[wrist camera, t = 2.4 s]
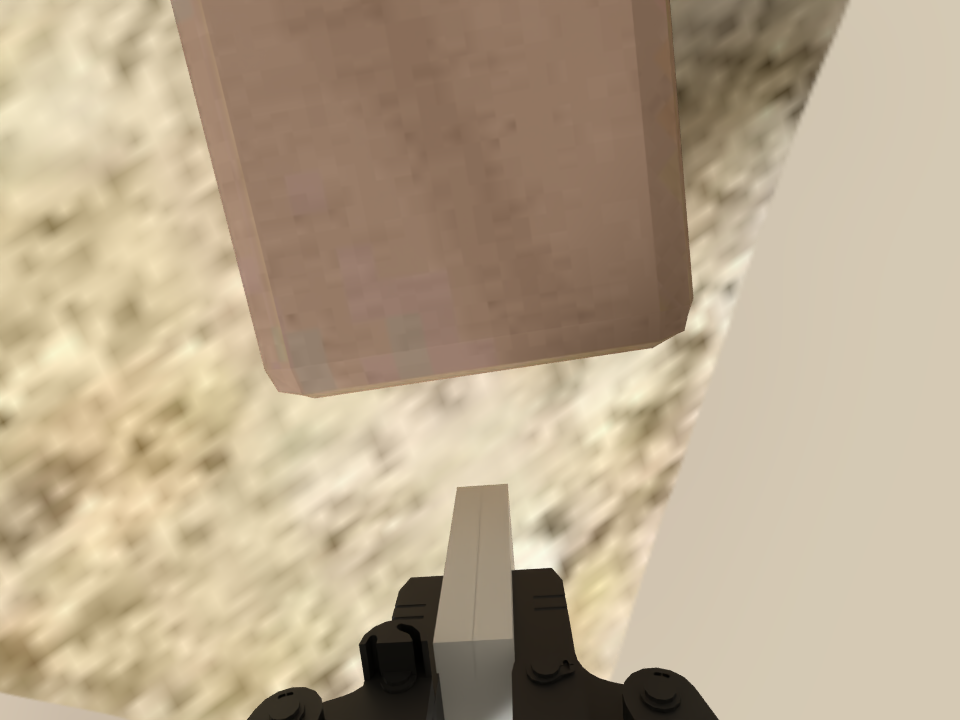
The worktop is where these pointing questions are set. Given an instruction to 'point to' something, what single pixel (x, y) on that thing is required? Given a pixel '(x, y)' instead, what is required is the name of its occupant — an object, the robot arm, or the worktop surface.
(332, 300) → the wooden block
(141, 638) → the worktop surface
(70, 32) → the worktop surface
